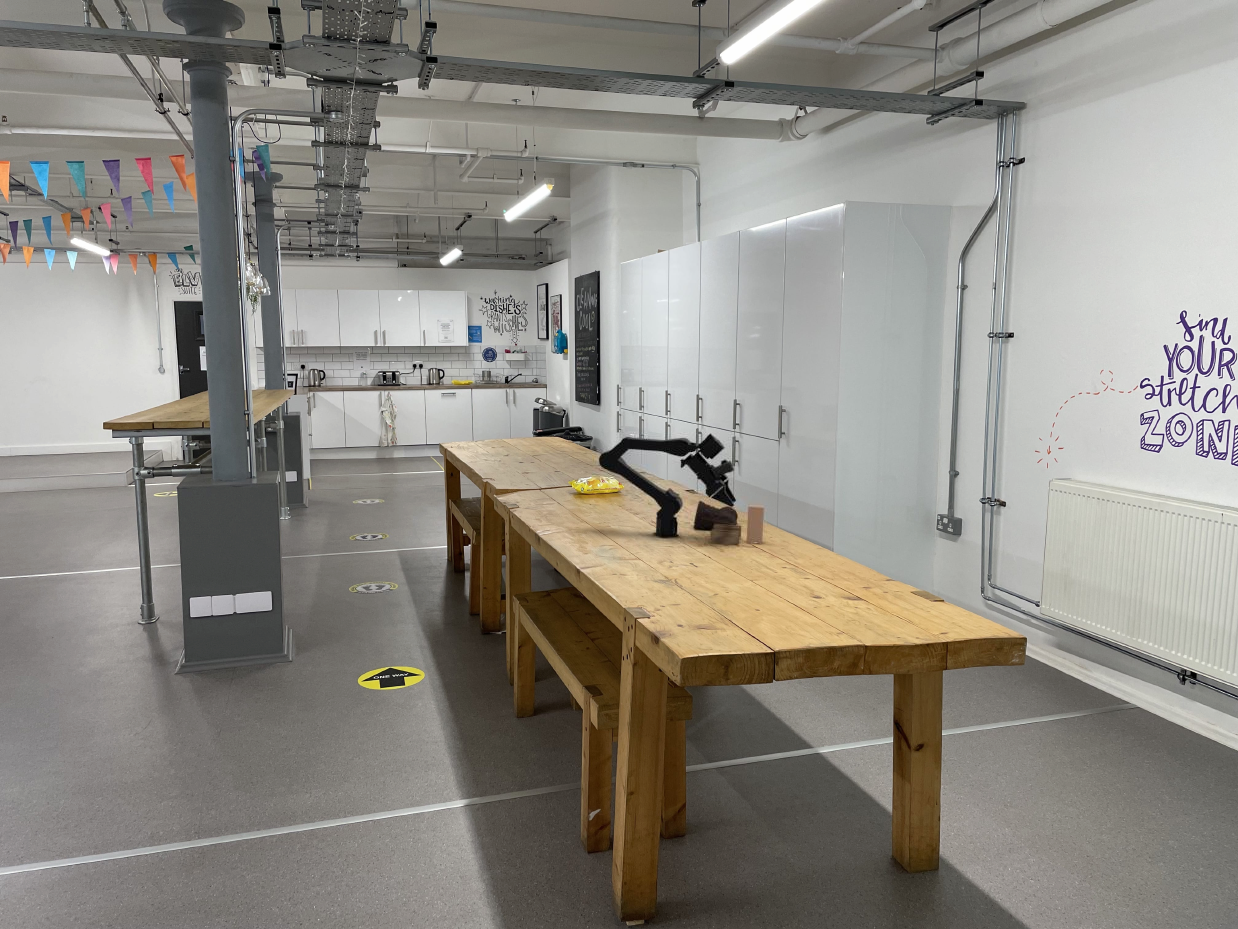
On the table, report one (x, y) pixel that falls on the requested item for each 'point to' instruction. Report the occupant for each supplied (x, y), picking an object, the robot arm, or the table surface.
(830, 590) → the table surface
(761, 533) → the clay block
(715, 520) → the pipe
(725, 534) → the rack
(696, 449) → the robot arm
